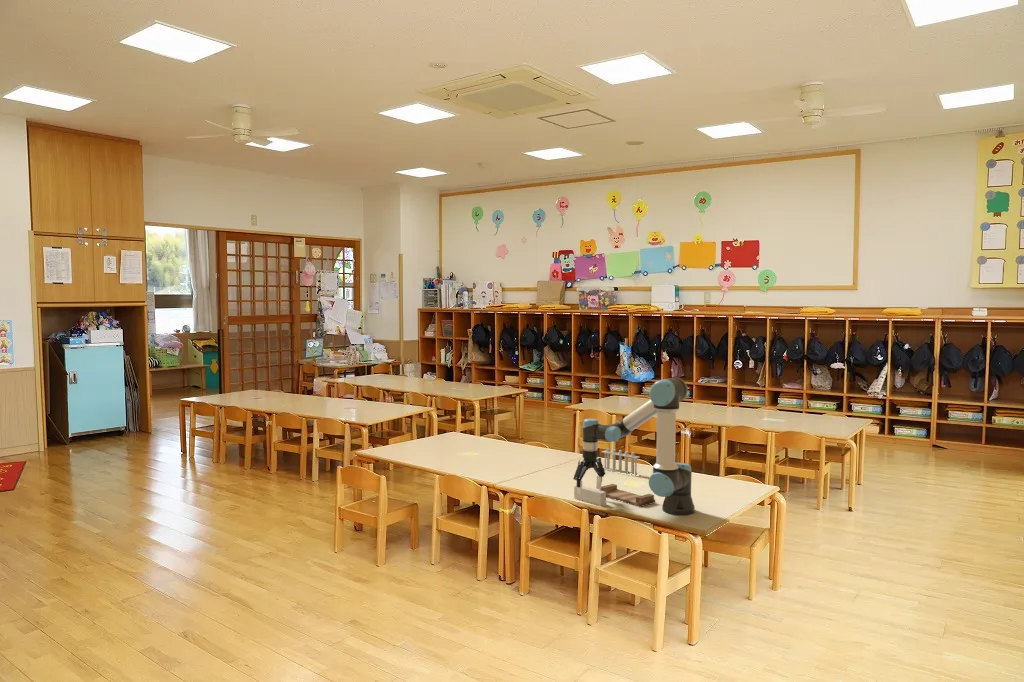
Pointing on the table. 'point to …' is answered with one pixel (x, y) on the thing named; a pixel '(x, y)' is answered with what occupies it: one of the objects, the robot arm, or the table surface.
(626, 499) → the brown notched plank
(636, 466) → the test tube rack
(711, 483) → the table surface
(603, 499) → the grey rectangular block
